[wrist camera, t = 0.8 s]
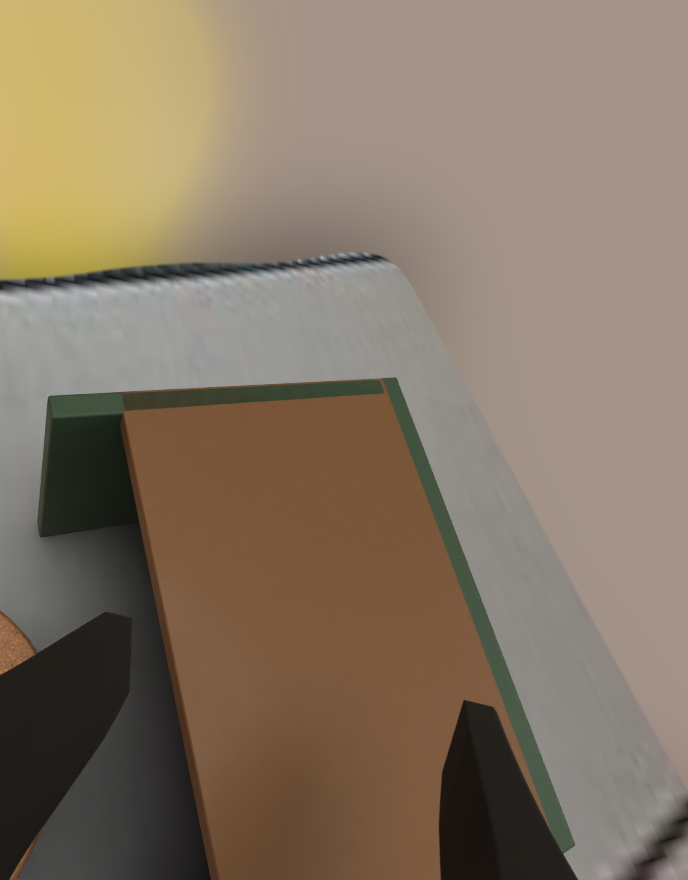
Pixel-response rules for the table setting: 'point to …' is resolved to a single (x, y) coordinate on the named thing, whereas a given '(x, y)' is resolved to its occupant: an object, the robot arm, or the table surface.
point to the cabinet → (297, 614)
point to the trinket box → (4, 650)
